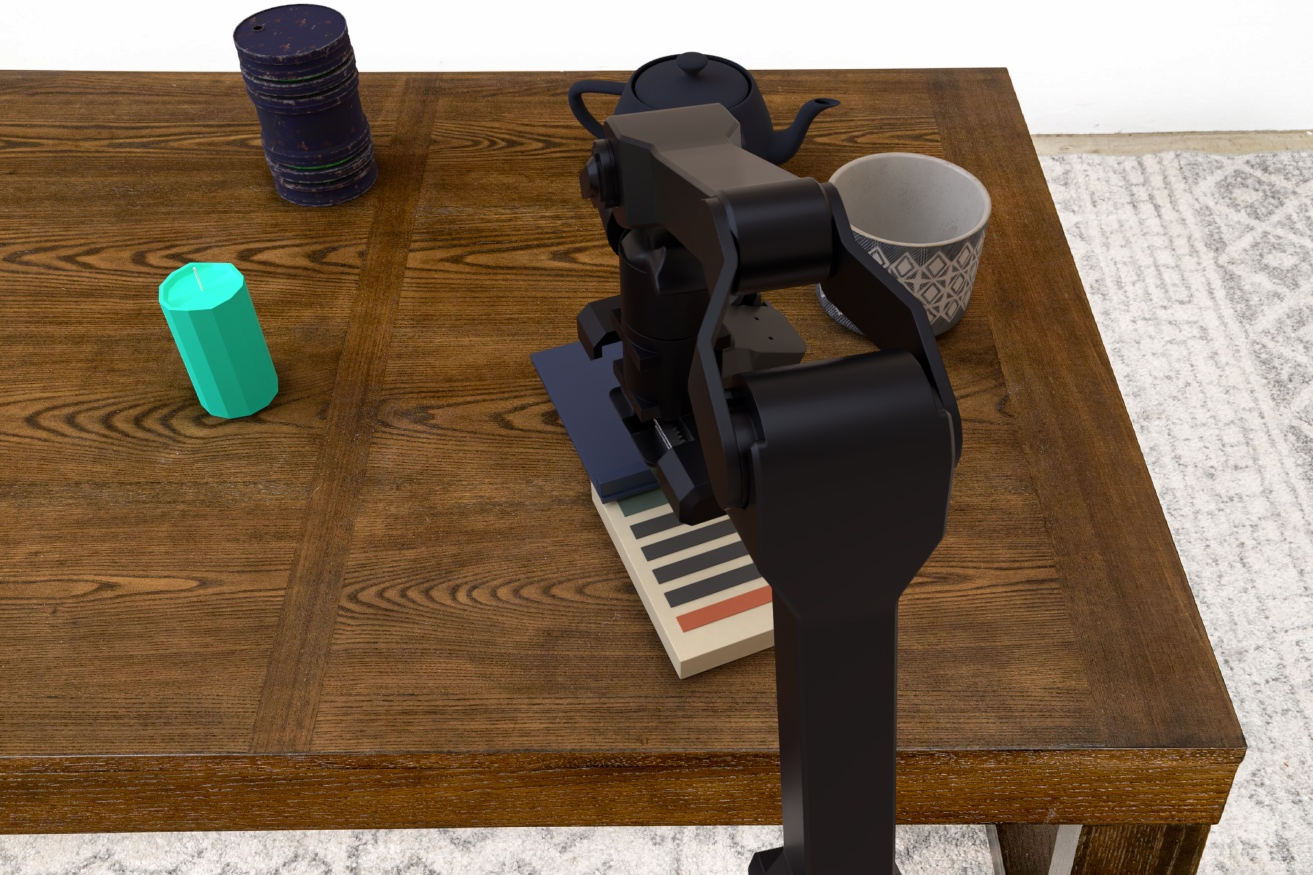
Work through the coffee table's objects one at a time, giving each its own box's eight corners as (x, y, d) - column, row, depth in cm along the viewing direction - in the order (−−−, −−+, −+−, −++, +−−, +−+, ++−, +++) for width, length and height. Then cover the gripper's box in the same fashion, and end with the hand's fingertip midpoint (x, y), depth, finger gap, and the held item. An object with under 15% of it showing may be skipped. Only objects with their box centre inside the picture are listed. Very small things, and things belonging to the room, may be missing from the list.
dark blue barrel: (390, 151, 114) (361, 5, 103) (364, 209, 107) (330, 59, 96) (291, 147, 114) (252, 1, 104) (259, 205, 107) (213, 54, 97)
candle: (268, 418, 88) (224, 295, 79) (190, 418, 88) (137, 295, 79) (287, 365, 92) (247, 242, 83) (212, 365, 92) (164, 242, 84)
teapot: (548, 205, 107) (537, 85, 98) (596, 119, 117) (590, 3, 109) (816, 245, 102) (830, 122, 94) (842, 151, 113) (856, 33, 104)
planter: (954, 366, 91) (979, 259, 84) (798, 333, 94) (809, 228, 87) (976, 271, 100) (1001, 167, 92) (831, 244, 102) (844, 141, 95)
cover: (726, 466, 81) (727, 447, 79) (602, 505, 78) (601, 486, 77) (641, 328, 91) (641, 309, 90) (530, 358, 89) (528, 340, 87)
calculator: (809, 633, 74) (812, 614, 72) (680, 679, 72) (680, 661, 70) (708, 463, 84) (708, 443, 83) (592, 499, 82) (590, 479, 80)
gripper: (871, 373, 63) (840, 550, 75) (728, 193, 76) (721, 368, 87) (684, 429, 61) (682, 604, 72) (567, 232, 73) (581, 409, 84)
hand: (670, 486), depth 79 cm, fingers closed
